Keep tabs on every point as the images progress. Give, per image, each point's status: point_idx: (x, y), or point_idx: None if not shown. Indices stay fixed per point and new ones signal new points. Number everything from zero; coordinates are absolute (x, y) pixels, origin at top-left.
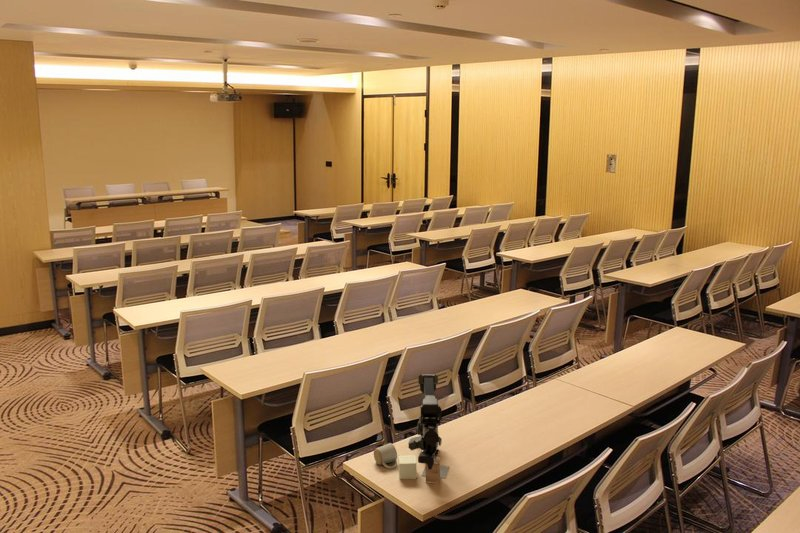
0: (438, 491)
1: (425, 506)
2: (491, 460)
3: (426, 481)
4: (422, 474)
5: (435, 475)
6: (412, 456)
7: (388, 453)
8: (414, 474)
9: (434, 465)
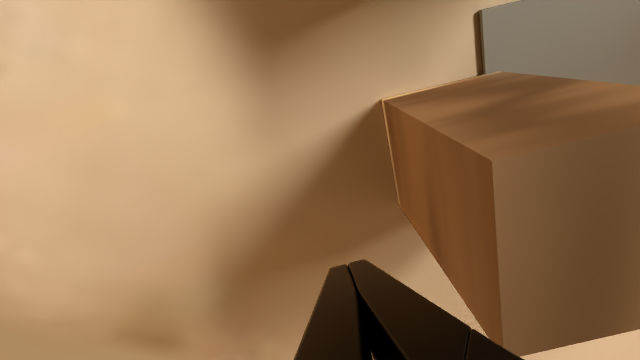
0: (286, 258)
1: (12, 269)
2: None
3: (385, 109)
4: (506, 7)
5: (422, 222)
6: None
7: None
8: None
9: (481, 291)
